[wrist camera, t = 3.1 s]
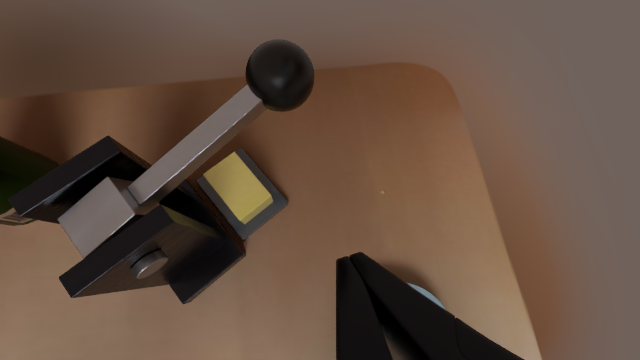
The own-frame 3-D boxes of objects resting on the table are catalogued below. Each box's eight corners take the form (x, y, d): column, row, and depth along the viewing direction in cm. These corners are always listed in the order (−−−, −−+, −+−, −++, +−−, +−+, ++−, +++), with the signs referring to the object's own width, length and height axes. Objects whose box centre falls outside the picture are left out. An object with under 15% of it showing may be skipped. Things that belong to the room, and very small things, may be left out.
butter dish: (242, 149, 24) (236, 136, 22) (288, 203, 24) (287, 196, 21) (197, 182, 23) (186, 172, 21) (243, 240, 22) (237, 237, 20)
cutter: (184, 176, 24) (96, 106, 13) (246, 255, 22) (201, 245, 12) (127, 217, 22) (-19, 175, 12) (189, 302, 21) (84, 338, 11)
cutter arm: (290, 52, 16) (276, 9, 13) (330, 92, 15) (326, 59, 12) (103, 212, 15) (40, 209, 12) (136, 260, 15) (80, 270, 12)
